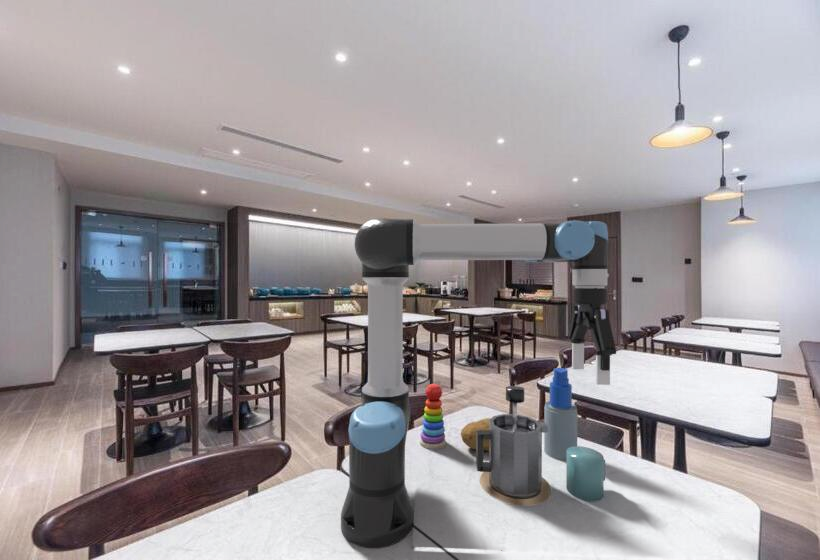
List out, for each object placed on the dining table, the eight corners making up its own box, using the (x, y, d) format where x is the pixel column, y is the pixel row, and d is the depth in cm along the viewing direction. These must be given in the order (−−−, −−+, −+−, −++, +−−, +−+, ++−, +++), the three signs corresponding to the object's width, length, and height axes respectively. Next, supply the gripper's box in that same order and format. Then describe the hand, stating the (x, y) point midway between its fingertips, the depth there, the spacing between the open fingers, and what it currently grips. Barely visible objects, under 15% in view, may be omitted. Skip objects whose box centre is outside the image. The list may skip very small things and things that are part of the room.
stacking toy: (447, 451, 108) (447, 388, 108) (420, 451, 108) (420, 388, 108) (444, 439, 116) (445, 380, 116) (419, 439, 116) (419, 380, 116)
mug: (583, 506, 82) (583, 464, 82) (559, 487, 90) (559, 448, 90) (617, 499, 85) (617, 458, 85) (590, 480, 93) (591, 443, 92)
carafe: (480, 497, 84) (480, 433, 84) (473, 469, 97) (473, 413, 97) (554, 500, 83) (554, 434, 83) (538, 471, 96) (538, 414, 96)
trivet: (485, 506, 82) (485, 503, 82) (475, 467, 99) (475, 465, 99) (562, 509, 81) (562, 506, 81) (539, 469, 98) (539, 467, 98)
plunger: (499, 445, 86) (499, 394, 86) (492, 428, 95) (492, 382, 95) (539, 446, 85) (539, 394, 85) (528, 429, 94) (528, 383, 94)
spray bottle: (547, 445, 112) (548, 364, 112) (579, 452, 107) (579, 368, 107) (541, 457, 105) (541, 370, 105) (574, 465, 100) (575, 374, 100)
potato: (459, 442, 114) (459, 413, 114) (509, 443, 113) (509, 413, 113) (462, 456, 105) (462, 424, 105) (516, 457, 105) (516, 424, 105)
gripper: (635, 288, 74) (634, 392, 75) (584, 286, 99) (583, 363, 99) (597, 288, 75) (597, 391, 75) (555, 286, 100) (555, 363, 100)
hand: (589, 376), depth 87 cm, fingers open, 13 cm apart
